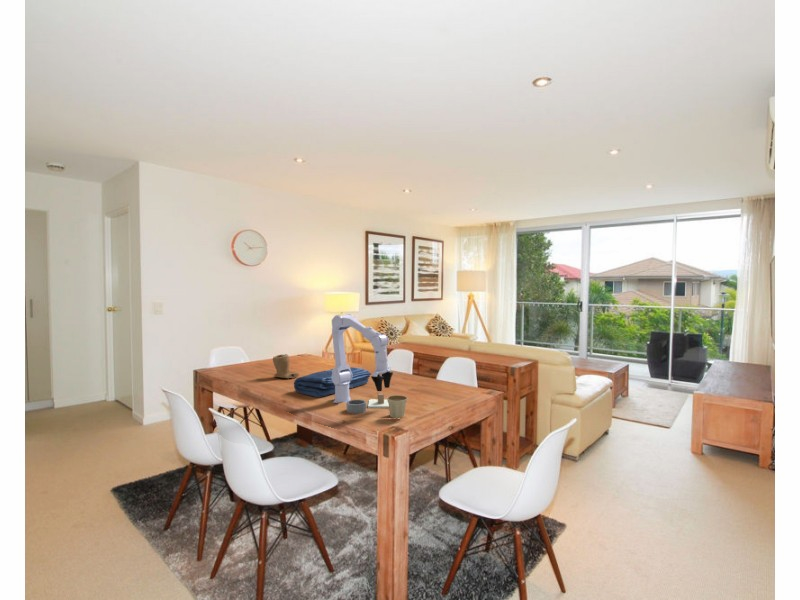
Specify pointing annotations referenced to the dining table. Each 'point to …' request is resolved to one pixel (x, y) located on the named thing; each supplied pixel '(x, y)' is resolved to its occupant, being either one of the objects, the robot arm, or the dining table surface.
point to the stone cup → (283, 367)
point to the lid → (378, 402)
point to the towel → (327, 382)
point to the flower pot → (397, 405)
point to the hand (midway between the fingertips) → (383, 389)
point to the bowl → (356, 406)
